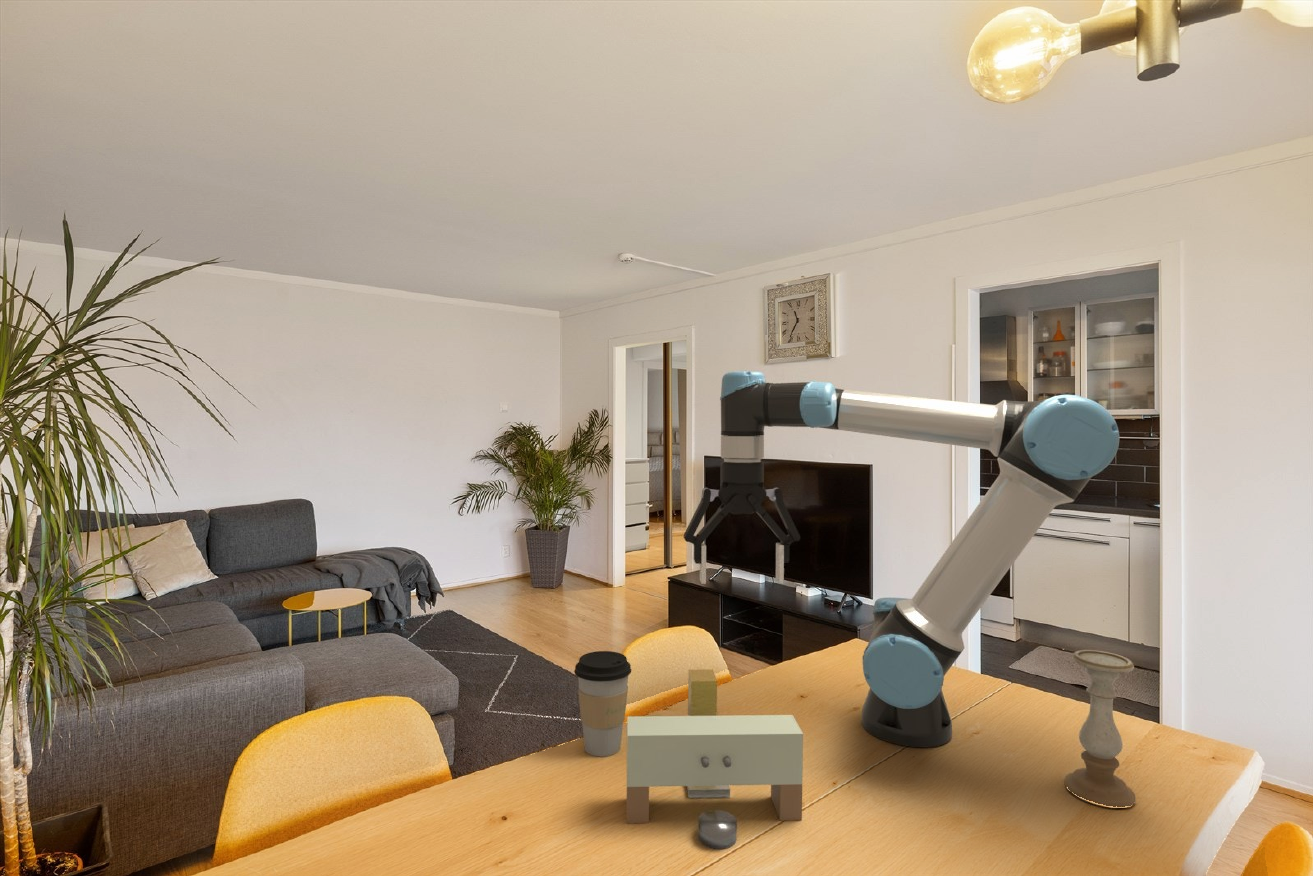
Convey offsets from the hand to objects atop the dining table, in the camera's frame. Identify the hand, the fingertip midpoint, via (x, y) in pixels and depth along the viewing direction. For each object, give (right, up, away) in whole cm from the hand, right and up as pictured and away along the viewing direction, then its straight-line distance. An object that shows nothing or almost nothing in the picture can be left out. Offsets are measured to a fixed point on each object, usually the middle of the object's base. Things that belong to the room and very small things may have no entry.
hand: (741, 581), depth 120 cm
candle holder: (+51, -28, -19) cm, 61 cm away
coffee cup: (-24, -27, -6) cm, 36 cm away
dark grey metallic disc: (-7, -27, -30) cm, 41 cm away
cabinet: (-7, -27, -24) cm, 37 cm away
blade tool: (-8, -27, -14) cm, 31 cm away
